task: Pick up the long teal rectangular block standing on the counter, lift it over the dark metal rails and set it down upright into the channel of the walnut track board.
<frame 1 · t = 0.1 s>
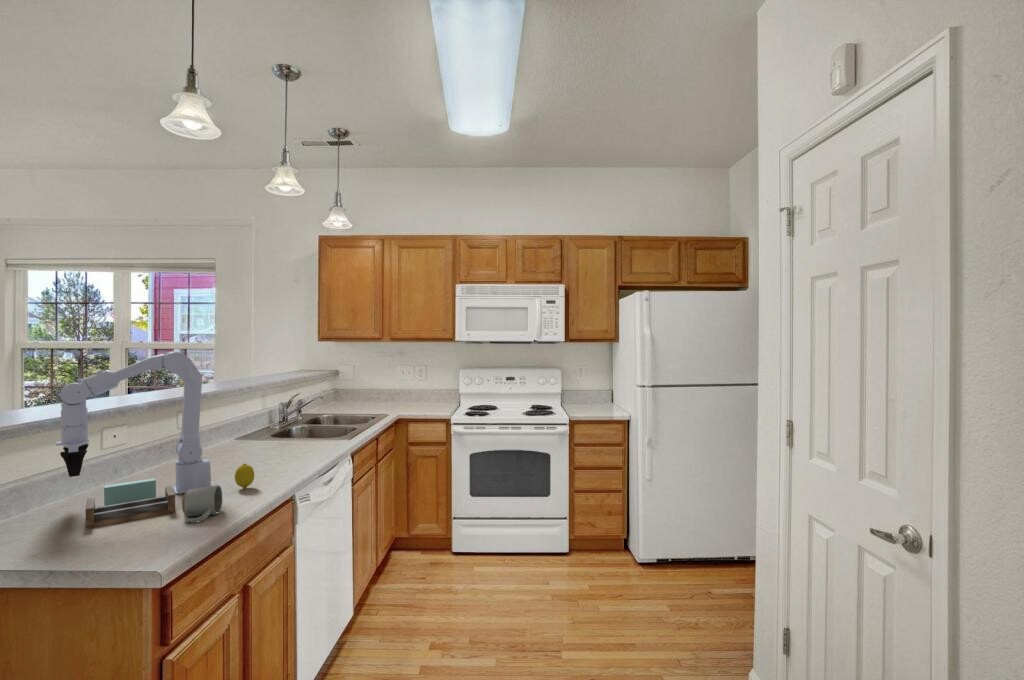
hand: (75, 473, 144), 10 cm above the worktop, tool pointing down, fingers open, 7 cm apart
long teal rectangular block: (130, 503, 148), on the worktop
ceramic mug: (202, 517, 137), on the worktop
track board: (131, 514, 138), on the worktop
lemon: (244, 489, 162), on the worktop
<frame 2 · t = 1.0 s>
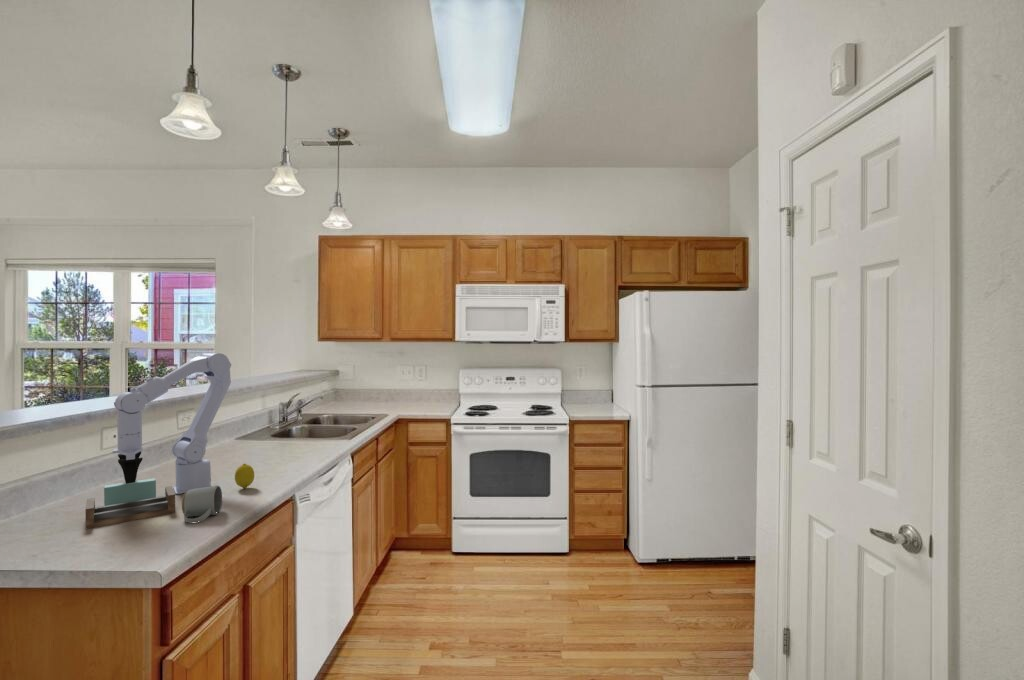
hand: (130, 479, 148), 7 cm above the worktop, tool pointing down, fingers open, 7 cm apart
nothing on the worktop moved.
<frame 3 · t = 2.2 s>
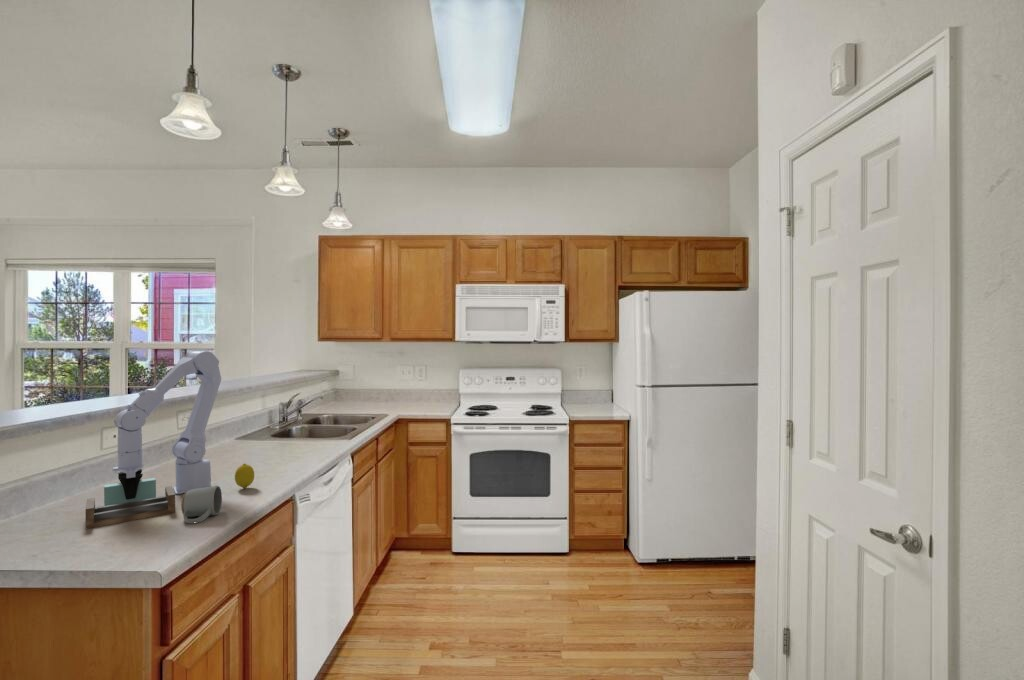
hand: (130, 497, 148), 2 cm above the worktop, tool pointing down, fingers closed on long teal rectangular block, 3 cm apart
long teal rectangular block: (130, 502, 148), on the worktop, touching gripper
everything else where it was.
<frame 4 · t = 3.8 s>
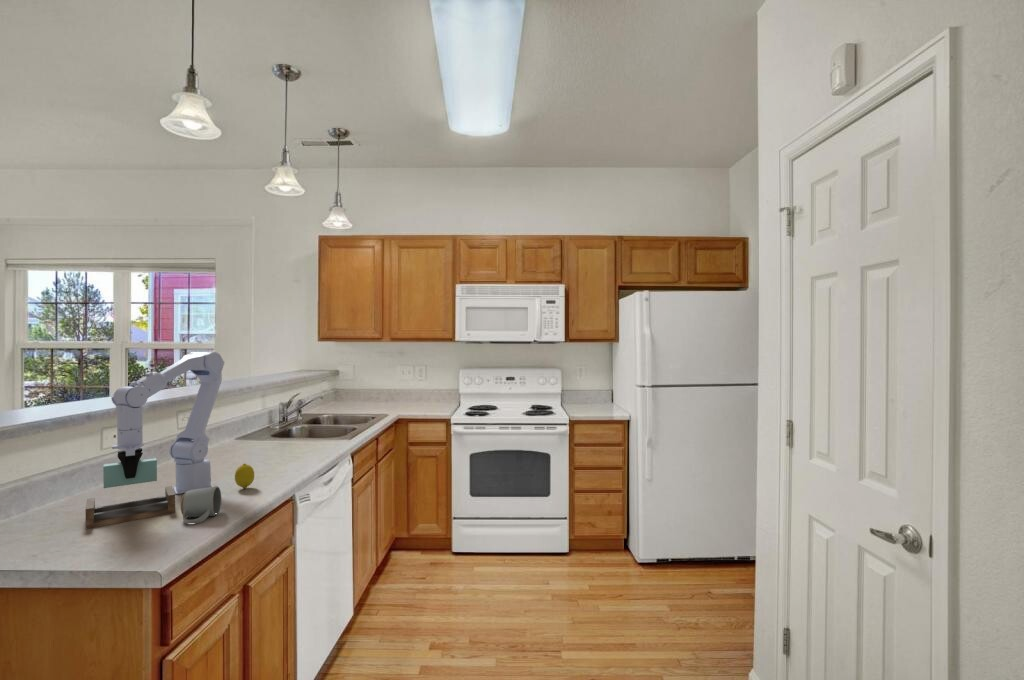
hand: (130, 476, 143), 9 cm above the worktop, tool pointing down, fingers closed on long teal rectangular block, 3 cm apart
long teal rectangular block: (130, 483, 144), point 7 cm above the worktop, touching gripper
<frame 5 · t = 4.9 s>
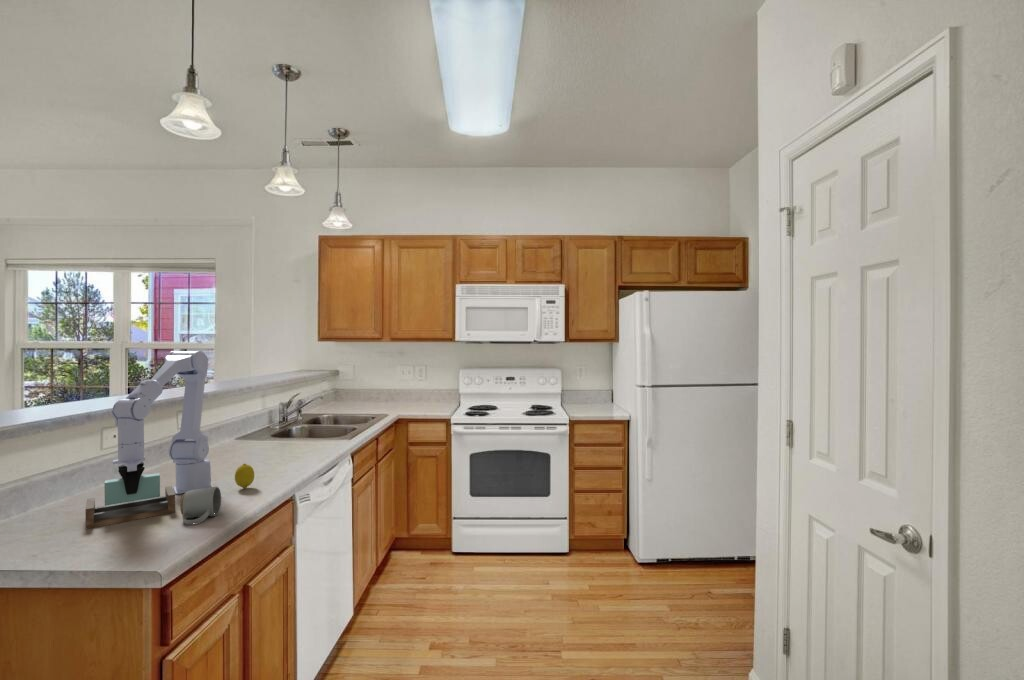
hand: (131, 492, 138), 6 cm above the worktop, tool pointing down, fingers closed on long teal rectangular block, 3 cm apart
long teal rectangular block: (132, 499, 138), point 4 cm above the worktop, touching gripper
when the fingers open (4 cm above the worktop, at t = 5.7 s): long teal rectangular block stays where it is, resting on track board.
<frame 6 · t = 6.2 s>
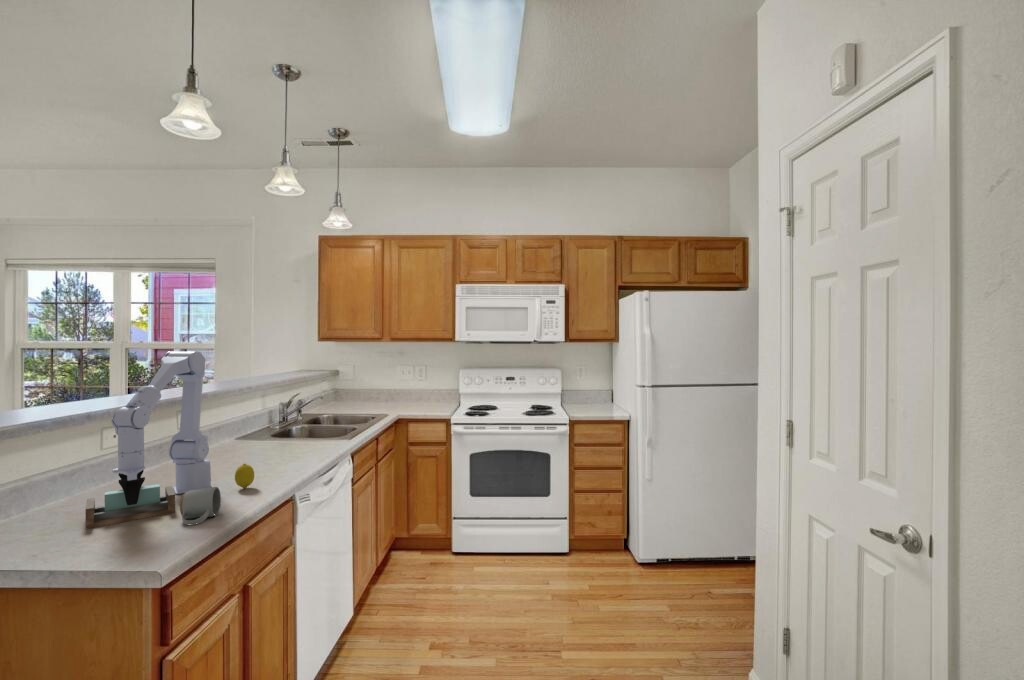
hand: (131, 500, 138), 4 cm above the worktop, tool pointing down, fingers open, 7 cm apart
long teal rectangular block: (133, 511, 138), point 1 cm above the worktop, touching track board
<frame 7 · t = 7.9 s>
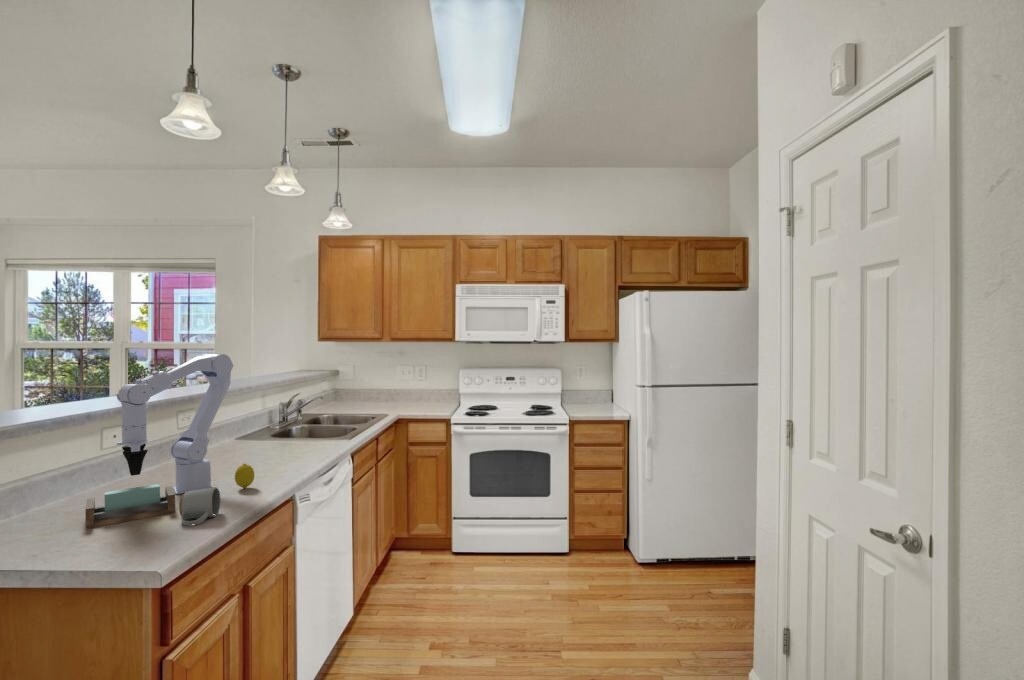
hand: (134, 472, 147), 9 cm above the worktop, tool pointing down, fingers open, 7 cm apart
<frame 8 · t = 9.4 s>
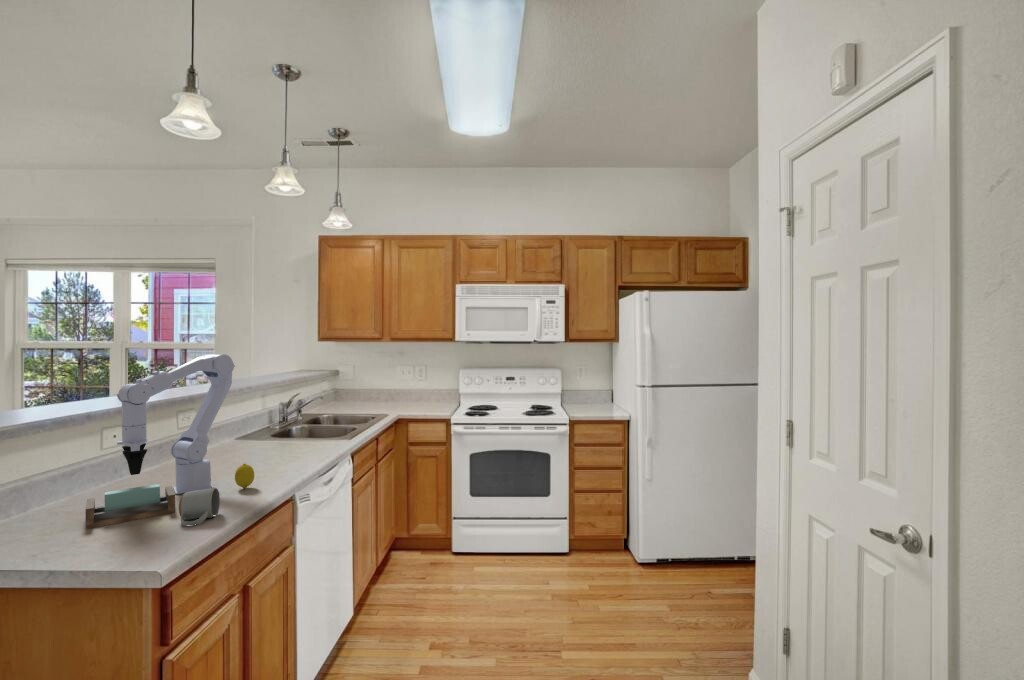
hand: (134, 471, 147), 9 cm above the worktop, tool pointing down, fingers open, 7 cm apart
at the end: long teal rectangular block 0.3 cm off-centre on the track board, point 1.0 cm above the track board's base; long teal rectangular block tilted 0°; the gripper is holding nothing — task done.
